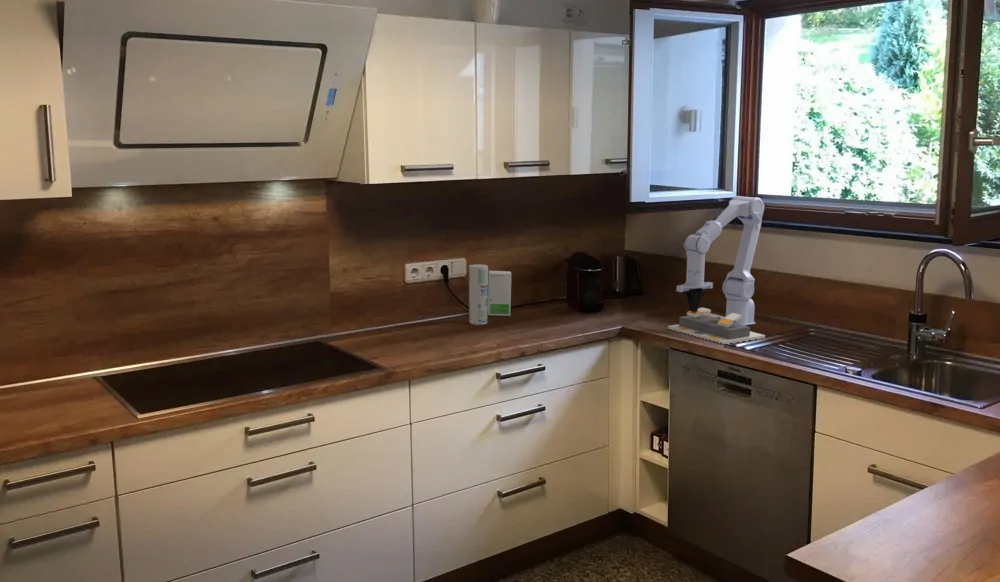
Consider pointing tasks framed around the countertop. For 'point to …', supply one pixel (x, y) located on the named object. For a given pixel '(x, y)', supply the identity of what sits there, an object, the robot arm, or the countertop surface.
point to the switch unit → (714, 330)
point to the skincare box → (499, 293)
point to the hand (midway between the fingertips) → (693, 311)
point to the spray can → (478, 294)
